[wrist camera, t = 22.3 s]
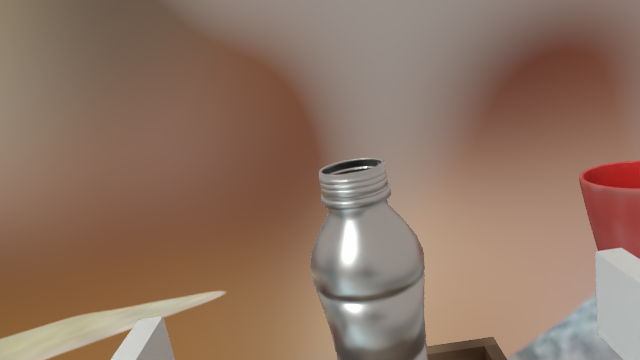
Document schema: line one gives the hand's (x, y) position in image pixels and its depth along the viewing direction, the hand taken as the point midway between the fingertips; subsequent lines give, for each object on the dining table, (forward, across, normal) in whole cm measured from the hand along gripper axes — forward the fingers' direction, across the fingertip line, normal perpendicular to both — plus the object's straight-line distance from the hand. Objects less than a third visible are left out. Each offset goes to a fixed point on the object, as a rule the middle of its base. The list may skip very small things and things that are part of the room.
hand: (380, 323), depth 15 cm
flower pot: (+37, +31, -19) cm, 52 cm away
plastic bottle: (+12, 0, -18) cm, 21 cm away
